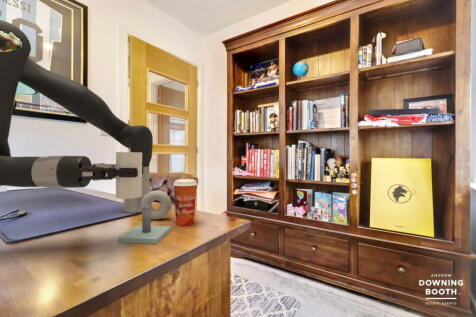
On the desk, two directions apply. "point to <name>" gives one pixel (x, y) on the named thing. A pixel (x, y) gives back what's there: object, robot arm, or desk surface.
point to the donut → (160, 197)
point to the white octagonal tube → (129, 185)
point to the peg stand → (145, 231)
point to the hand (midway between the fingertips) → (140, 171)
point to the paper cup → (185, 201)
